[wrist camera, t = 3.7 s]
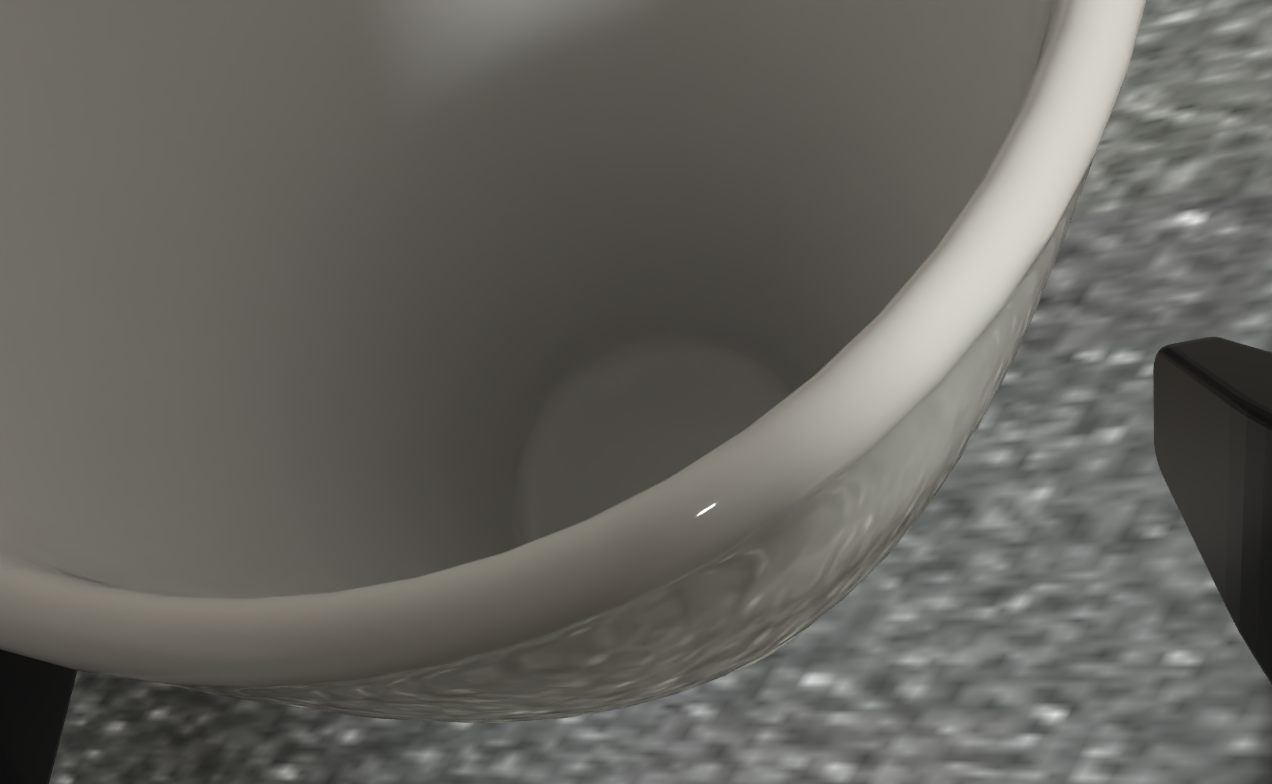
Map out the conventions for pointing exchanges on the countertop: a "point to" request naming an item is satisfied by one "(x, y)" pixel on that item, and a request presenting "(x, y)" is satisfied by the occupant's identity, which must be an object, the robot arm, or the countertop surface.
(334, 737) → the countertop surface
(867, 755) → the countertop surface
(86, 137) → the drinking glass
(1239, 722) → the countertop surface
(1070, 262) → the countertop surface
